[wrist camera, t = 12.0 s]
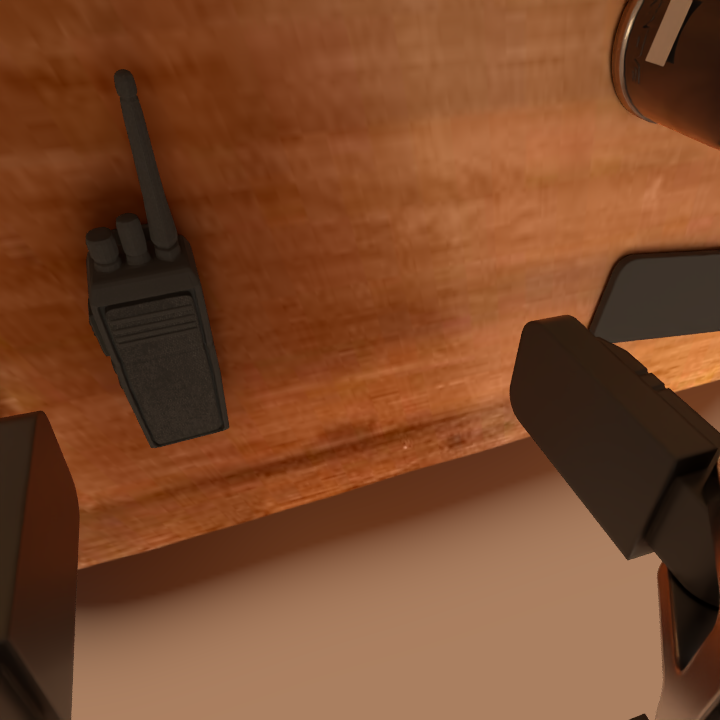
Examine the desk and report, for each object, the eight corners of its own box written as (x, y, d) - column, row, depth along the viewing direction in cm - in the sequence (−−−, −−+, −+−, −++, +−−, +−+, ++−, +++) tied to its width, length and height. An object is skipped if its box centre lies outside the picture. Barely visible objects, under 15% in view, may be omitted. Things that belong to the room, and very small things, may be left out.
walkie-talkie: (112, 444, 35) (-49, 87, 21) (179, 375, 39) (81, 37, 25) (199, 483, 33) (86, 119, 19) (260, 406, 37) (204, 60, 23)
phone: (625, 258, 42) (781, 249, 46) (617, 253, 42) (772, 245, 47) (588, 346, 46) (735, 330, 51) (582, 340, 47) (727, 324, 51)
